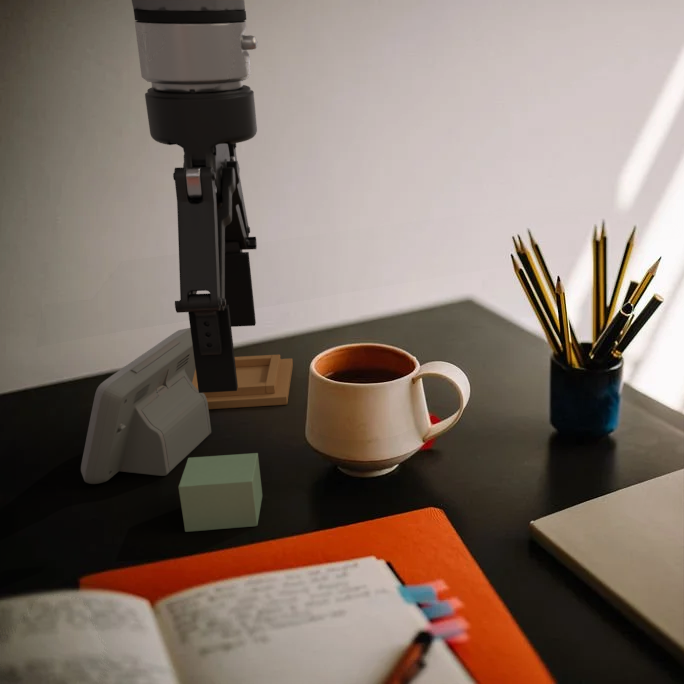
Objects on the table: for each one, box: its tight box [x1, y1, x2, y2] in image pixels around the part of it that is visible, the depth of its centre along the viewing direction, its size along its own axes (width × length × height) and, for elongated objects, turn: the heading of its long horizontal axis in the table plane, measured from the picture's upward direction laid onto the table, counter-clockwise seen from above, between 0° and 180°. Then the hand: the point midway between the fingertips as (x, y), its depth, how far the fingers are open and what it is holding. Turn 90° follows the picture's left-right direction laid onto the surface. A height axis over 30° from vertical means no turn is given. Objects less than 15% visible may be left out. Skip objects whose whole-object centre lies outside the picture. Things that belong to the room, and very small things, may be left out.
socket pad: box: [192, 354, 294, 410], centre depth 104 cm, size 12×11×2 cm
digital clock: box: [80, 327, 212, 485], centre depth 88 cm, size 16×9×11 cm, turn 158°
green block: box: [177, 452, 263, 533], centre depth 79 cm, size 6×5×4 cm
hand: (229, 355), depth 73 cm, fingers open, 13 cm apart
